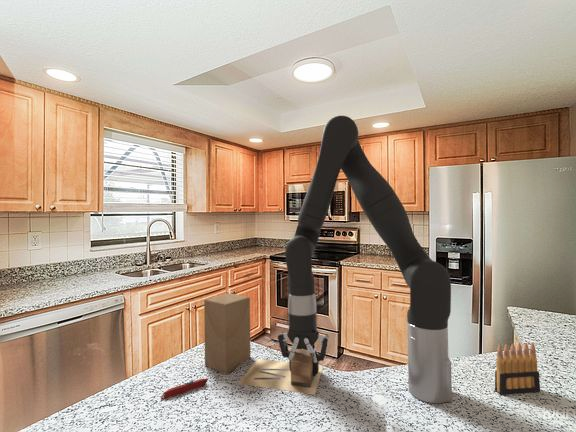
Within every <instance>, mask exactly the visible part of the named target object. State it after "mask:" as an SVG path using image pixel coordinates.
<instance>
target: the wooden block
mask: <svg viewBox="0 0 576 432" xmlns="http://www.w3.org/2000/svg"><path fill="white" fill-rule="evenodd" d="M203 303H204V304H203V311H204V313H203V314H204V318H203V319H204V324H203V325H204V326H203V327H204V328H203V329H204V365H205V366H206V367H209V368H210V369H212V370H215V371H217V372H219V373H220V374H221V373H222V374H224V375H229V374H230V373H232V372H234V371H236V369H237V368H238V367H239V366H240V365H241V363H243V362H244V361H247V360H249V359H250V358H251V306H250V305H251V299H250V297H249V296H245V295H240V294H235V293H224V294H220V295H217V296H212V297H208V298H205V299H204V301H203Z"/></svg>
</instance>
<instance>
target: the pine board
mask: <svg viewBox="0 0 576 432" xmlns="http://www.w3.org/2000/svg"><path fill="white" fill-rule="evenodd" d="M323 369H324V366H323V367H322V366H321V365H319V371H318V374H316V376H314V379H313V382H312V384H311V387H310V388H309V387H301V386H294V385H291V371H290V367H289V362H287V361H281V360H280V361H279V360H278V361H277V360H270V359H263V358H257V359H256V361H255V362H254V363H253V364H252V366H251V367H250V368H249V369H248V371H247V372H246V373H245V374H244V376H242V378H241V379H240V380H239V381H238V384H239V385H246V386H252V387H259V388H267V389H272V390H279V391H280V390H281V391H289V392H293V393H300V394H301V393H302V394H310V395H315V394H316V391H317V388H318V385H319V382H320V378H321V376H322V375H321V374H322V372H323Z"/></svg>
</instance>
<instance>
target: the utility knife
mask: <svg viewBox="0 0 576 432" xmlns="http://www.w3.org/2000/svg"><path fill="white" fill-rule="evenodd" d="M208 380H209V378H200V379H198V380H191V381H189V382H187V383H184V384H180V385H177V386H174V387H172V388H169V389H167V390H166V391H164V392H163V393H162V396H161V397H160V400H166V399H168V398H171V397H175V396H178V395H182V394H185V393H187V392H190V391H193V390H197V389H199V388H203V387H205V386H206V385H207V383H208Z"/></svg>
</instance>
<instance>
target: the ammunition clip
mask: <svg viewBox="0 0 576 432" xmlns="http://www.w3.org/2000/svg"><path fill="white" fill-rule="evenodd" d="M536 351H537V349H536V345H535V344H534V342H531V344H530V345H528V343H527V342H525V343H524V345H523V348H522V345H521V342H518V344H517V346H515V344H514V343H511V345H510V347H509V345H508V343H506V344H504V349H503V347H502V344H501V343H499V344H498V345H497V352H496V353H497V355H496V364H495V365H496V366H495V367H496V370H495V371H494V391H495V392H497V393H498V394H499V395H501V396H503V395H506V396H507V395H519V394H520V395H521V394H531V393H532V394H533V393H541V383H540V371H538V359H537V353H536Z"/></svg>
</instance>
